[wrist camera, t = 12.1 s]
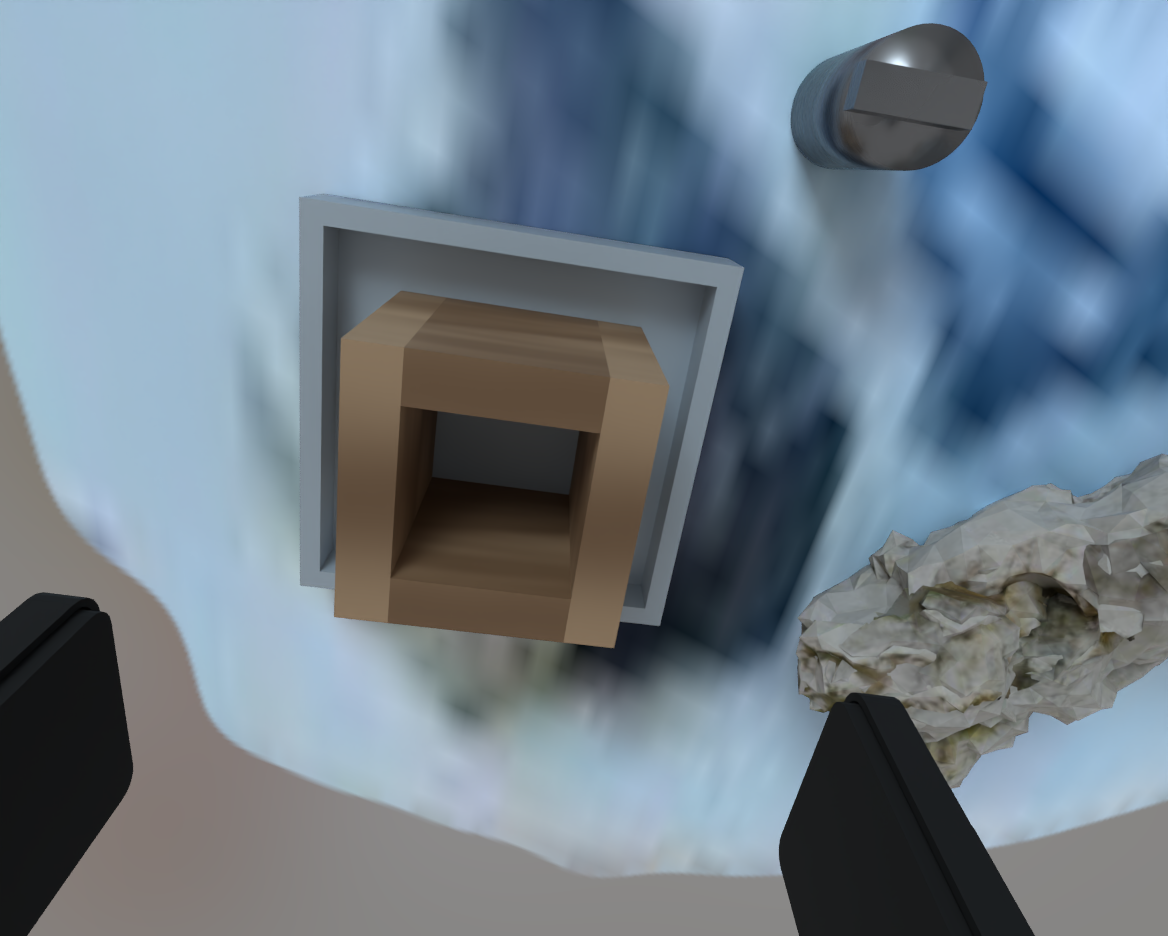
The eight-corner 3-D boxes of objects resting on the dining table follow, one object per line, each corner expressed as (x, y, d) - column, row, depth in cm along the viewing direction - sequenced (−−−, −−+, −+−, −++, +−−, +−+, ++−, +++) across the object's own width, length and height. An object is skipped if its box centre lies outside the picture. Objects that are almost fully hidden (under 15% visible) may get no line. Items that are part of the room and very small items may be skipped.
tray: (727, 258, 21) (744, 267, 19) (652, 592, 25) (659, 625, 23) (323, 193, 20) (299, 197, 18) (320, 553, 24) (300, 585, 22)
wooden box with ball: (400, 290, 20) (340, 338, 15) (641, 326, 21) (669, 386, 15) (386, 545, 24) (332, 662, 18) (594, 570, 24) (604, 691, 19)
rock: (828, 595, 31) (846, 834, 25) (764, 424, 25) (765, 685, 18) (1418, 533, 24) (1683, 860, 17) (1547, 260, 17) (2059, 612, 10)
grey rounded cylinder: (907, 64, 19) (1021, 32, 14) (875, 176, 20) (970, 181, 15) (801, 44, 19) (881, 4, 14) (774, 159, 20) (839, 157, 15)
